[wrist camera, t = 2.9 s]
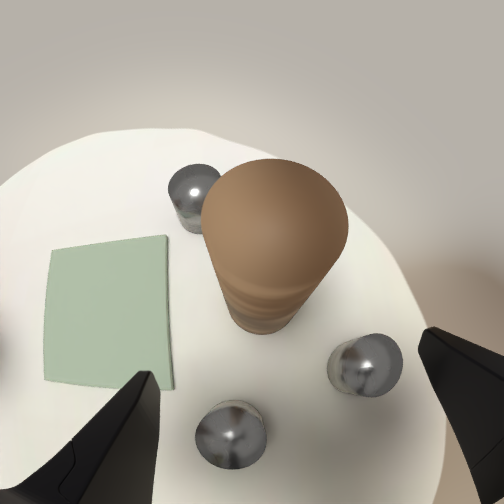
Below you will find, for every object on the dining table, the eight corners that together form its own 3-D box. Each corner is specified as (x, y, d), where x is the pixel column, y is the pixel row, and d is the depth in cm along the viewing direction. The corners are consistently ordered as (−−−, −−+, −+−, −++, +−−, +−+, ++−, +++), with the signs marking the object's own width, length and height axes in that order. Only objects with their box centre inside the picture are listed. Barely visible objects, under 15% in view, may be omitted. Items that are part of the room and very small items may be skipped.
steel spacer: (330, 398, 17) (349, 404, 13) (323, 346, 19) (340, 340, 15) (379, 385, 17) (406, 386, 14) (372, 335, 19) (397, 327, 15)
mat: (48, 380, 17) (44, 379, 16) (55, 252, 22) (51, 250, 21) (173, 389, 17) (171, 390, 17) (167, 237, 22) (165, 234, 22)
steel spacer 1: (179, 236, 22) (166, 210, 19) (179, 196, 24) (169, 167, 20) (227, 231, 22) (223, 203, 19) (224, 191, 24) (220, 161, 20)
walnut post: (231, 338, 19) (204, 295, 8) (224, 272, 21) (199, 165, 10) (300, 329, 19) (364, 275, 8) (290, 265, 21) (327, 156, 10)
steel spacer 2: (209, 452, 15) (200, 470, 12) (202, 401, 17) (191, 409, 13) (266, 447, 16) (270, 466, 12) (259, 397, 17) (262, 404, 14)
